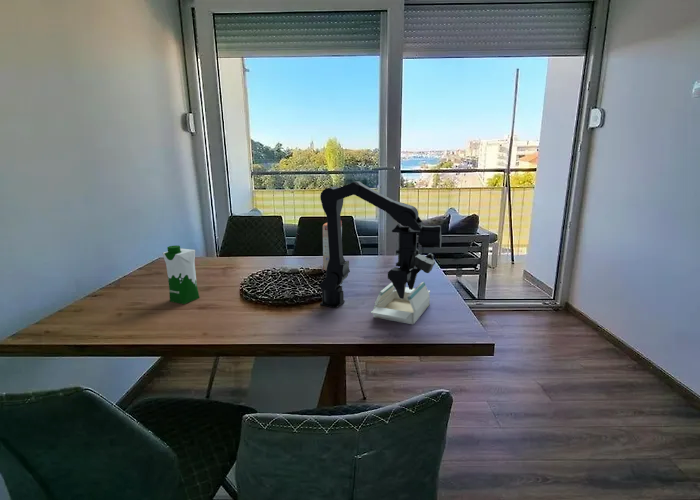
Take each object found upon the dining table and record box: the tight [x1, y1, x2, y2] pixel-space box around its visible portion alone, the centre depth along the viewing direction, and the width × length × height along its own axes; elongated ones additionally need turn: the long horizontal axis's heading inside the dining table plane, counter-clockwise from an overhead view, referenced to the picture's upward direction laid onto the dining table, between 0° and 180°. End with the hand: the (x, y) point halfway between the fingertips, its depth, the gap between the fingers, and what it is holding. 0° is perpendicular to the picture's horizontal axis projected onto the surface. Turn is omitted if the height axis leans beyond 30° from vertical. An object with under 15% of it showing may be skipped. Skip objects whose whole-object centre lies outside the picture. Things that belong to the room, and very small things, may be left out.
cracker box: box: [322, 220, 343, 272], centre depth 177 cm, size 14×6×21 cm, turn 168°
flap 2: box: [407, 281, 431, 311], centre depth 124 cm, size 1×15×5 cm, turn 153°
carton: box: [370, 286, 431, 325], centre depth 128 cm, size 13×26×4 cm, turn 153°
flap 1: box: [374, 282, 395, 306], centre depth 129 cm, size 1×15×5 cm, turn 153°
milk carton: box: [162, 245, 200, 305], centre depth 139 cm, size 9×9×20 cm
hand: (406, 293), depth 126 cm, fingers open, 9 cm apart
